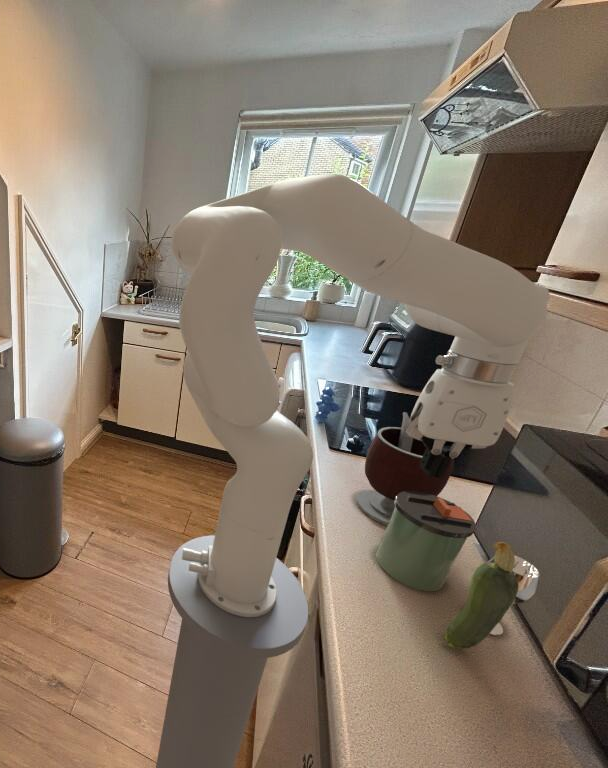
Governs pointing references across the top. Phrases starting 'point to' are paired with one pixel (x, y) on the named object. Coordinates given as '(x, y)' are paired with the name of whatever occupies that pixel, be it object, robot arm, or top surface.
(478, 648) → the top surface
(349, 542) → the top surface
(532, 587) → the wineglass
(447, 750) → the top surface
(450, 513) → the shutter
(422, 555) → the travel mug
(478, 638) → the vegetable
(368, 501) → the mate gourd
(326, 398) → the grapes
